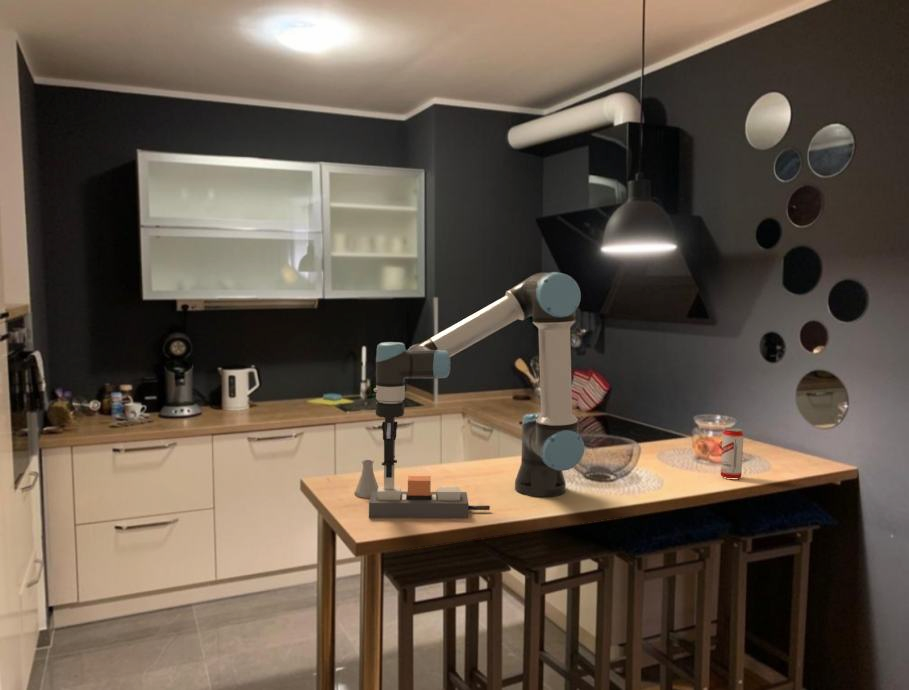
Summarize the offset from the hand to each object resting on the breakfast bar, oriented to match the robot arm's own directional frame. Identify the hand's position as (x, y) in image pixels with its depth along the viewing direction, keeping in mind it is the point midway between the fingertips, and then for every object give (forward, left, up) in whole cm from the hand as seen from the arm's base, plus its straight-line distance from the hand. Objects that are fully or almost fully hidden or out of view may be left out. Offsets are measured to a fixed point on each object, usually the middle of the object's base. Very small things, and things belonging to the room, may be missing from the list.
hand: (389, 488), depth 191 cm
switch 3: (-16, 0, -4) cm, 17 cm away
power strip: (-11, 0, -7) cm, 13 cm away
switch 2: (-8, 0, -1) cm, 8 cm away
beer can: (-108, -35, -7) cm, 114 cm away
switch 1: (0, 0, -4) cm, 4 cm away
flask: (+7, -15, -7) cm, 18 cm away
